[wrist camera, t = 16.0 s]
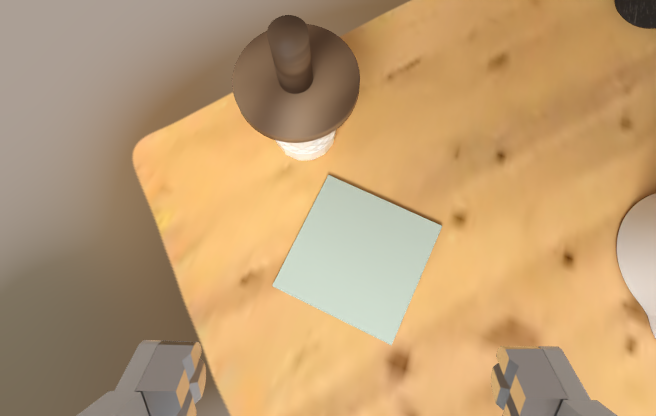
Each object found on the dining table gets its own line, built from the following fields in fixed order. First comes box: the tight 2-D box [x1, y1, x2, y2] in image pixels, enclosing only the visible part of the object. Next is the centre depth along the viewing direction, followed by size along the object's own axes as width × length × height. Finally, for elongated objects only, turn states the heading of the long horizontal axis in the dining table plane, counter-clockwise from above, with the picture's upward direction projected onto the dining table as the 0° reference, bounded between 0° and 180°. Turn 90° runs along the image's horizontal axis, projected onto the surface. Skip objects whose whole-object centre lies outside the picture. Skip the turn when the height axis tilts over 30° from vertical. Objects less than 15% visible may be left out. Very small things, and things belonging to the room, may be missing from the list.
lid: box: [232, 15, 360, 143], centre depth 35 cm, size 11×11×7 cm
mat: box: [272, 175, 442, 345], centre depth 44 cm, size 13×13×1 cm
